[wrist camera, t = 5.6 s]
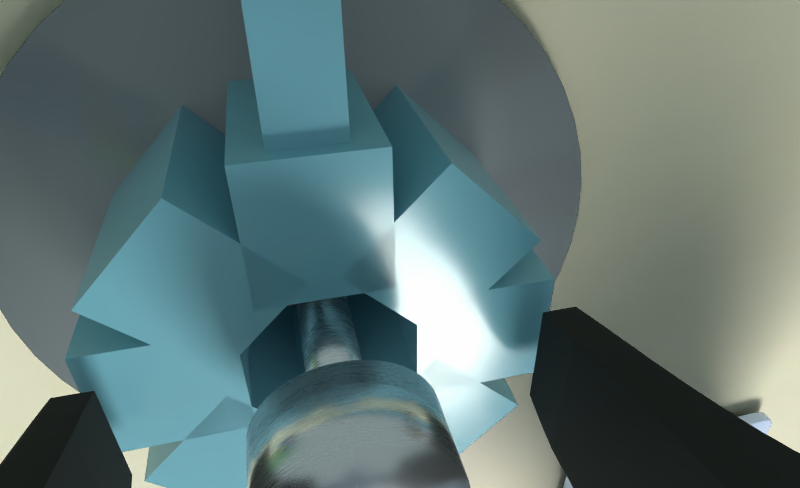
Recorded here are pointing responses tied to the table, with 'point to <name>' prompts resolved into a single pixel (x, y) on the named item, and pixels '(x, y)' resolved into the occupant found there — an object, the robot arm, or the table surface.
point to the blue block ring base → (279, 205)
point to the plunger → (349, 418)
